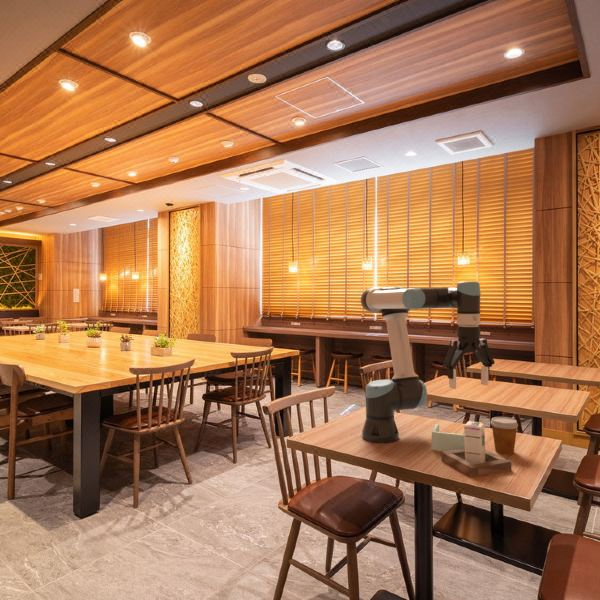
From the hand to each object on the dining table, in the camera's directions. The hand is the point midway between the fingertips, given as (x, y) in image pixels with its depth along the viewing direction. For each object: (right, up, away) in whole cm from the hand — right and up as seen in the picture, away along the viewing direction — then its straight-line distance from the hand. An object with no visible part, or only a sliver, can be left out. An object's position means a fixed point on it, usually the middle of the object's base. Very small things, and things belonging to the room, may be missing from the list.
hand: (468, 386), depth 153 cm
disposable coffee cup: (+18, -27, +12) cm, 34 cm away
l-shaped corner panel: (0, -28, +18) cm, 33 cm away
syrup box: (+2, -27, -1) cm, 27 cm away
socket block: (+2, -27, -1) cm, 27 cm away
